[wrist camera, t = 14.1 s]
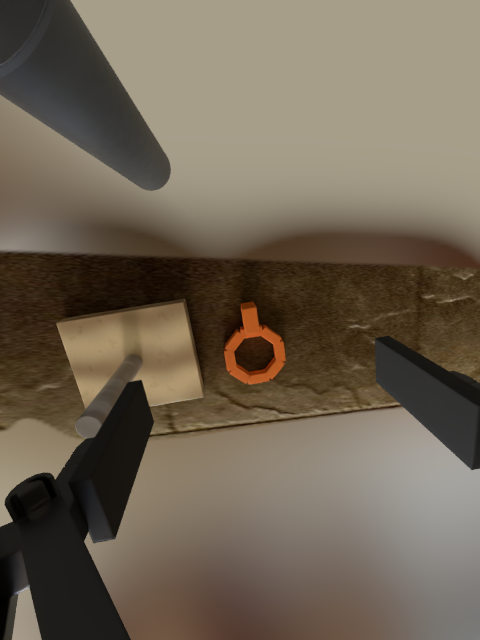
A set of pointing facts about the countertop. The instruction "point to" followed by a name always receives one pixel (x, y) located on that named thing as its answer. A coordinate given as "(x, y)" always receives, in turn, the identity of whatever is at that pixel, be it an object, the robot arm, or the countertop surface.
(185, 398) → the board
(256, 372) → the ring
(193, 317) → the countertop surface
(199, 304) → the countertop surface
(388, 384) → the robot arm
